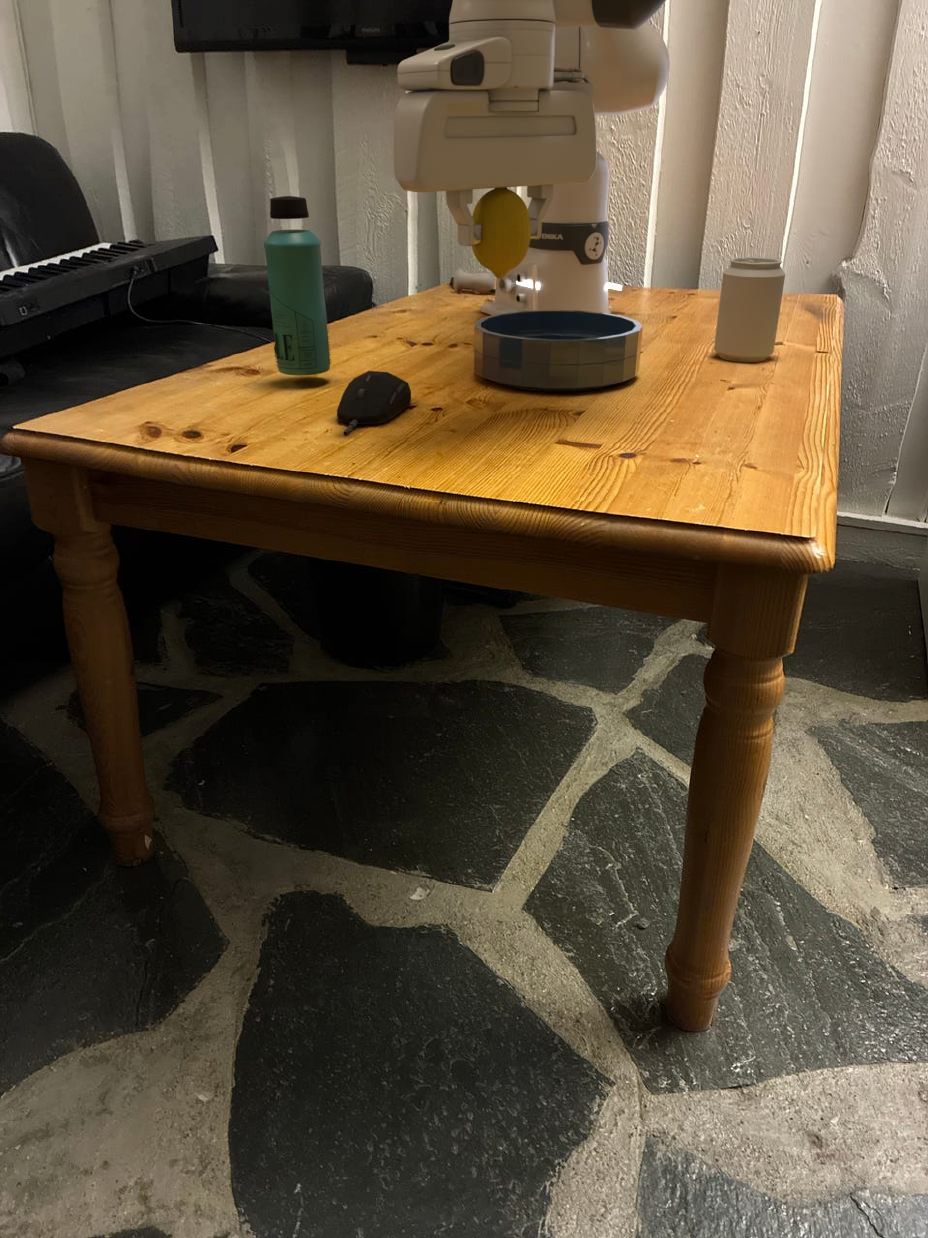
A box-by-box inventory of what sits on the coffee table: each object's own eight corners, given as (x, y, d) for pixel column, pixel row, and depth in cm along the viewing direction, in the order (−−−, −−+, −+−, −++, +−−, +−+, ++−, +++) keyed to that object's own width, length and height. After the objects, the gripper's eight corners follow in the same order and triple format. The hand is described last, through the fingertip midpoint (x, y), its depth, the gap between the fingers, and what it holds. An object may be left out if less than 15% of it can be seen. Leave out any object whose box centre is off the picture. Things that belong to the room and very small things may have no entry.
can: (775, 364, 114) (791, 262, 108) (714, 362, 115) (726, 261, 110) (770, 352, 120) (784, 255, 115) (712, 350, 122) (723, 254, 116)
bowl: (442, 371, 112) (441, 321, 109) (563, 351, 122) (565, 304, 119) (545, 404, 97) (547, 347, 95) (672, 378, 107) (677, 326, 105)
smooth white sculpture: (498, 299, 168) (486, 293, 164) (460, 295, 171) (447, 289, 167) (502, 274, 167) (490, 268, 163) (464, 271, 170) (451, 265, 166)
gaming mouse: (314, 433, 89) (311, 392, 87) (365, 395, 101) (363, 359, 99) (375, 437, 87) (373, 396, 85) (419, 398, 100) (418, 362, 98)
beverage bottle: (342, 377, 109) (329, 194, 99) (316, 391, 103) (300, 198, 94) (294, 374, 111) (277, 193, 101) (266, 386, 105) (245, 197, 96)
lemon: (467, 274, 87) (467, 182, 83) (525, 273, 87) (527, 181, 83) (473, 283, 82) (472, 186, 78) (533, 282, 82) (536, 185, 78)
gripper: (570, 69, 84) (563, 231, 91) (379, 65, 74) (388, 247, 80) (617, 66, 79) (607, 236, 86) (422, 61, 69) (427, 255, 76)
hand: (499, 242), depth 83 cm, fingers closed on lemon, 5 cm apart
